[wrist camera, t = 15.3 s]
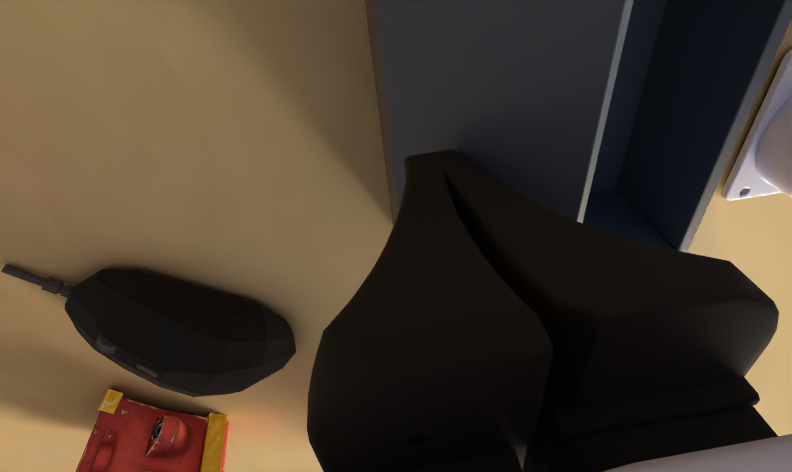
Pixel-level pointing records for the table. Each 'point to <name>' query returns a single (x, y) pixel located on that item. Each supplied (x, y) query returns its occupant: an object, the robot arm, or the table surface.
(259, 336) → the gaming mouse
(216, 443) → the book monster
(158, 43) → the table surface
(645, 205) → the storage box
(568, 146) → the flap
